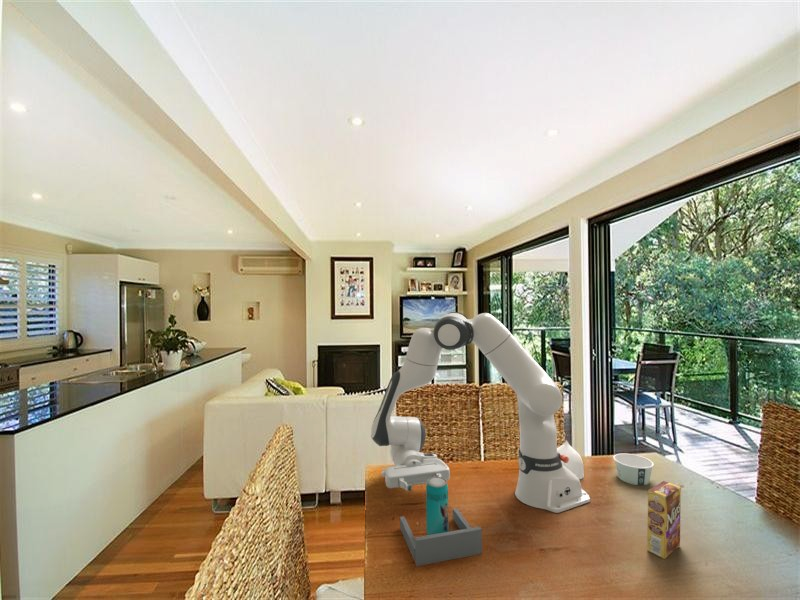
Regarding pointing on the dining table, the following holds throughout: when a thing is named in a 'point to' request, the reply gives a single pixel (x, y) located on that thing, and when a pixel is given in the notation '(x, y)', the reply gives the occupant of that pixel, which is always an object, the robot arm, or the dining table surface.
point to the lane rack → (444, 542)
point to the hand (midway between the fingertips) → (424, 486)
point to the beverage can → (437, 505)
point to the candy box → (663, 519)
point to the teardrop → (572, 460)
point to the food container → (633, 468)
